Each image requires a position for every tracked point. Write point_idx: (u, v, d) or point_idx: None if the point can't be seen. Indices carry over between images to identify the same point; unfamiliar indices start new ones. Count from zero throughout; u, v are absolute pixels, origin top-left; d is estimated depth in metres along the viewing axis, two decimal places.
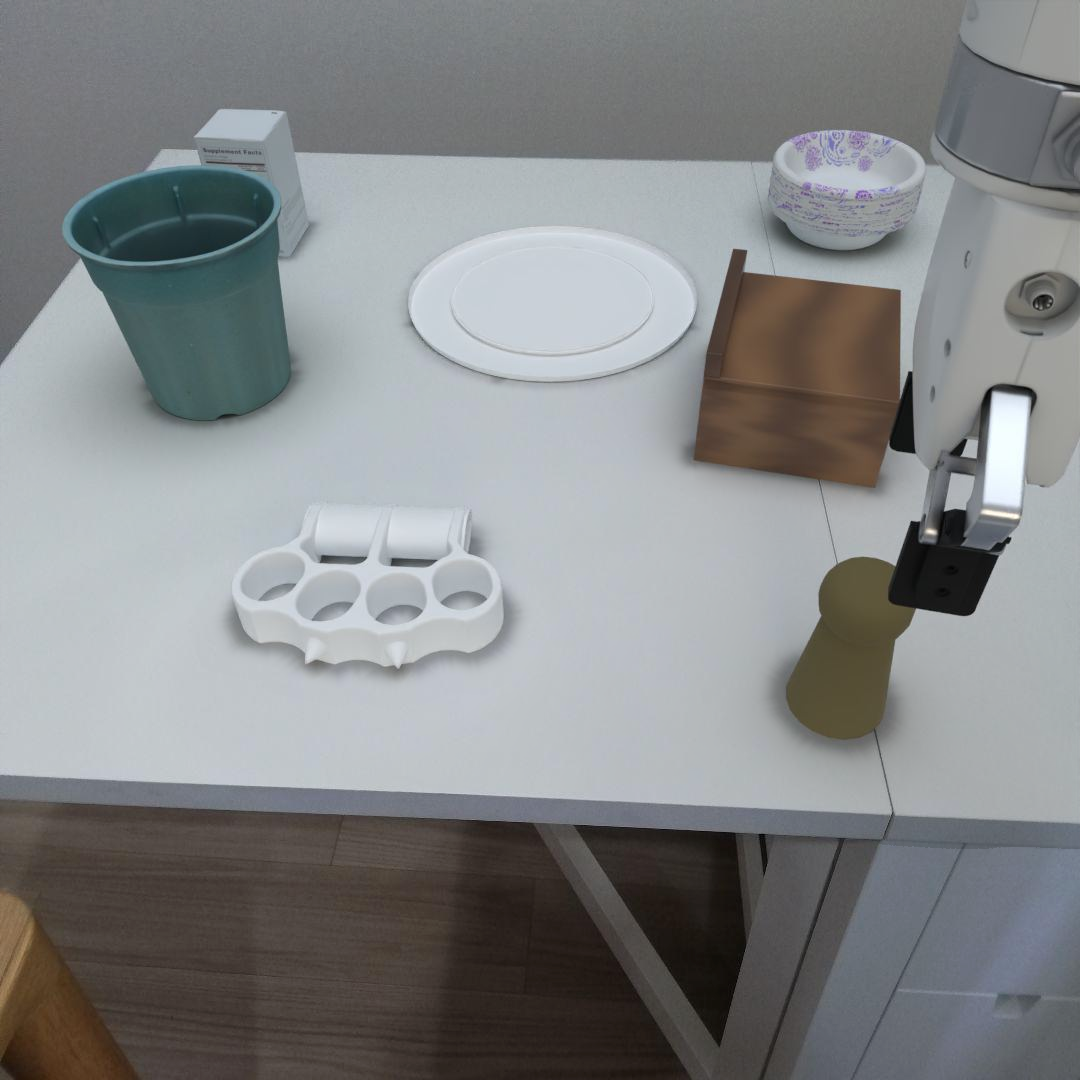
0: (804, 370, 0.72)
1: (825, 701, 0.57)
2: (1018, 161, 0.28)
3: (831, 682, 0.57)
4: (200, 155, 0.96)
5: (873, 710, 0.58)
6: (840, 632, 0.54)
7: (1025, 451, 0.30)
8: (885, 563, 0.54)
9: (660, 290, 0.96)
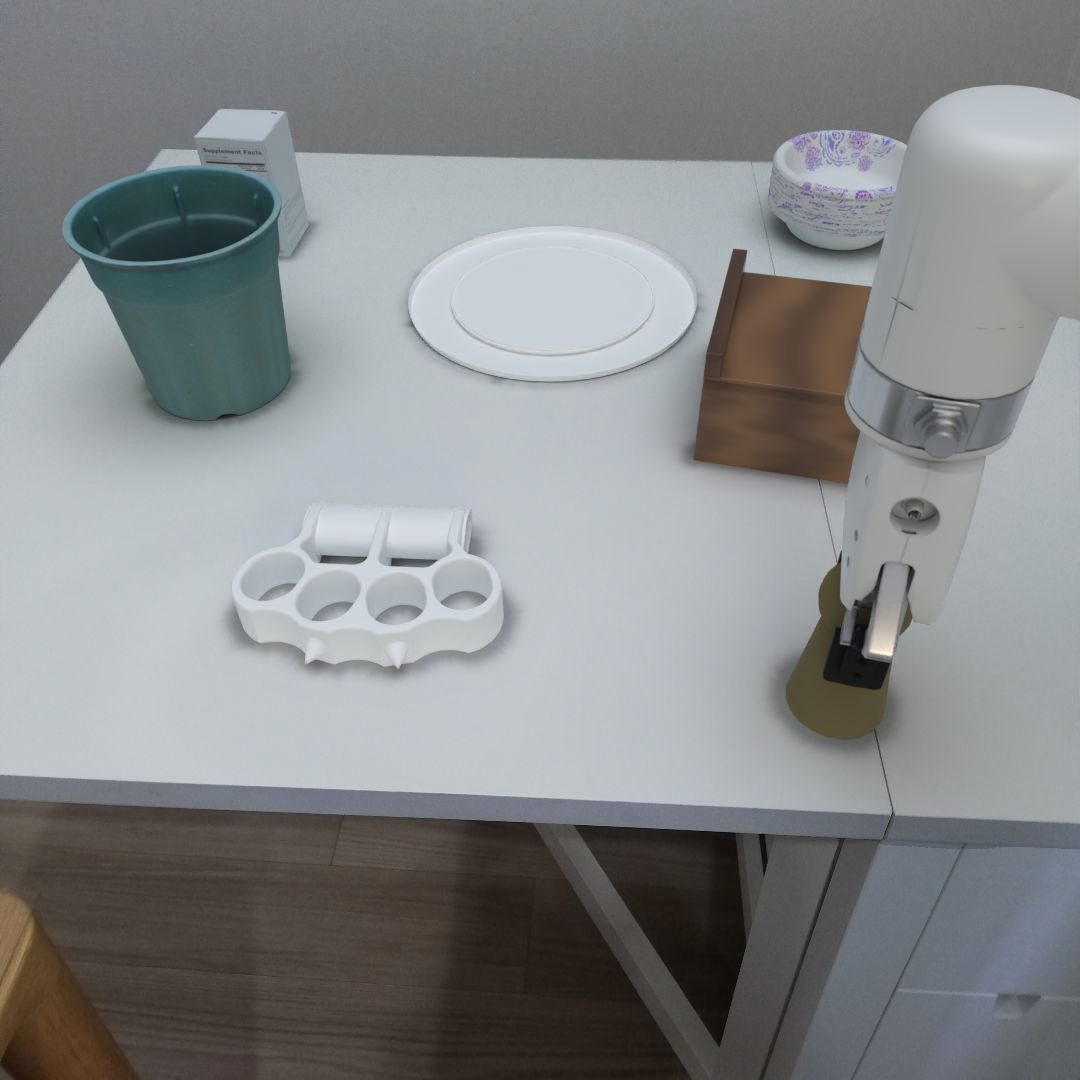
0: (804, 370, 0.72)
1: (825, 701, 0.57)
2: (895, 429, 0.43)
3: (831, 683, 0.57)
4: (200, 155, 0.96)
5: (873, 710, 0.58)
6: None
7: (899, 615, 0.46)
8: None
9: (660, 289, 0.96)
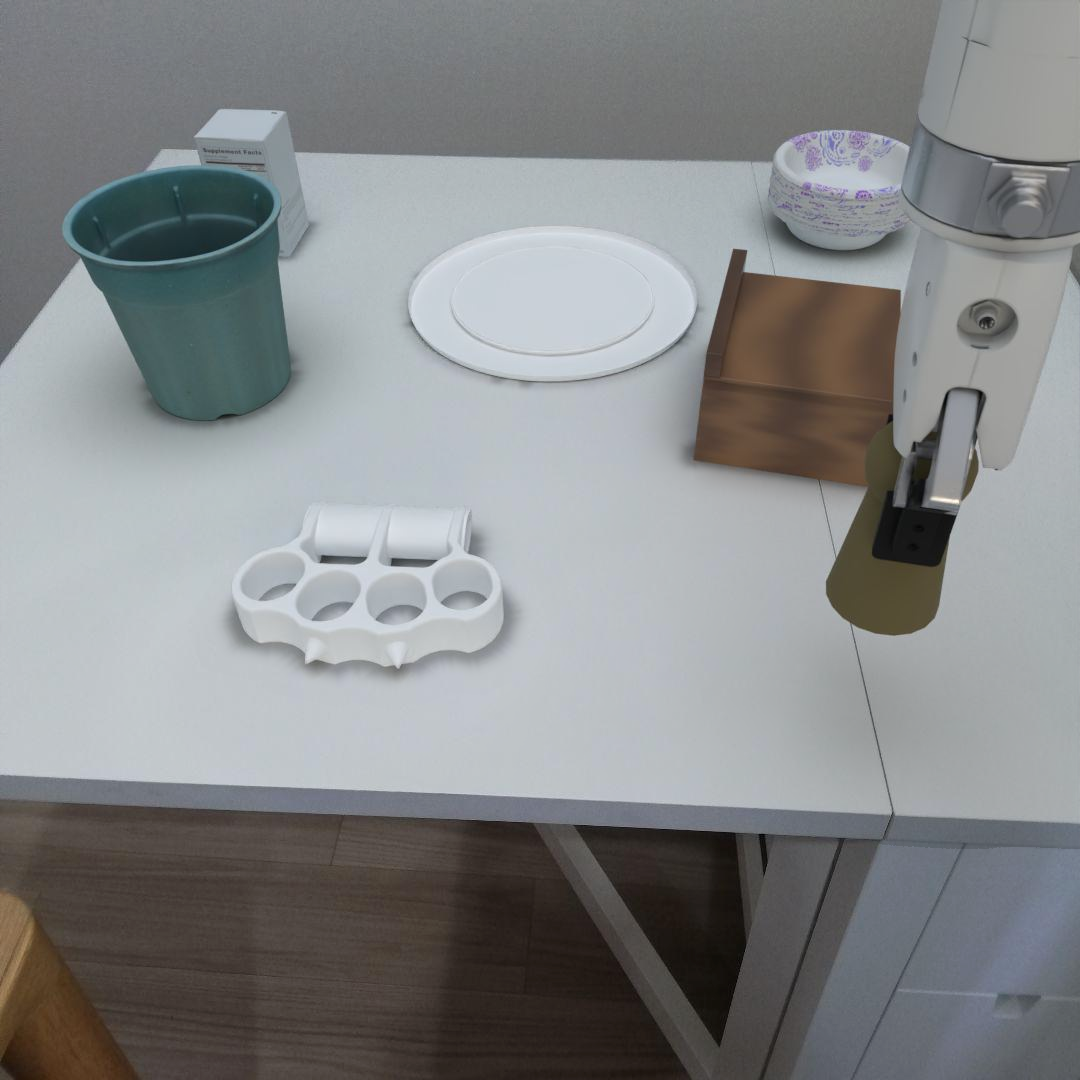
0: (804, 370, 0.72)
1: (873, 588, 0.50)
2: (963, 214, 0.36)
3: (880, 565, 0.50)
4: (200, 155, 0.96)
5: (928, 598, 0.51)
6: None
7: (968, 453, 0.39)
8: None
9: (660, 289, 0.96)
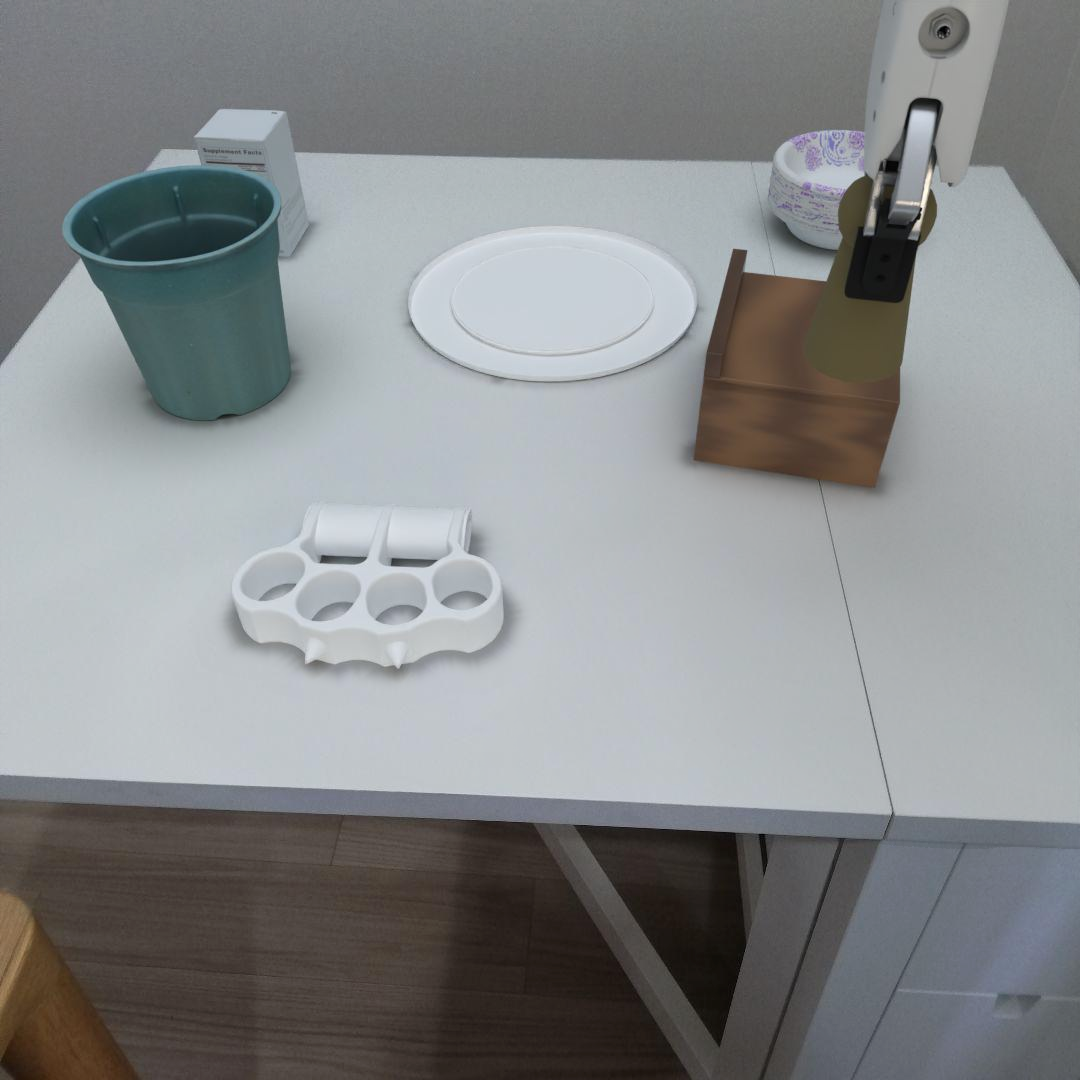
0: (804, 370, 0.72)
1: (845, 334, 0.57)
2: None
3: (851, 310, 0.56)
4: (200, 155, 0.96)
5: (892, 345, 0.57)
6: None
7: (927, 159, 0.46)
8: None
9: (660, 289, 0.96)
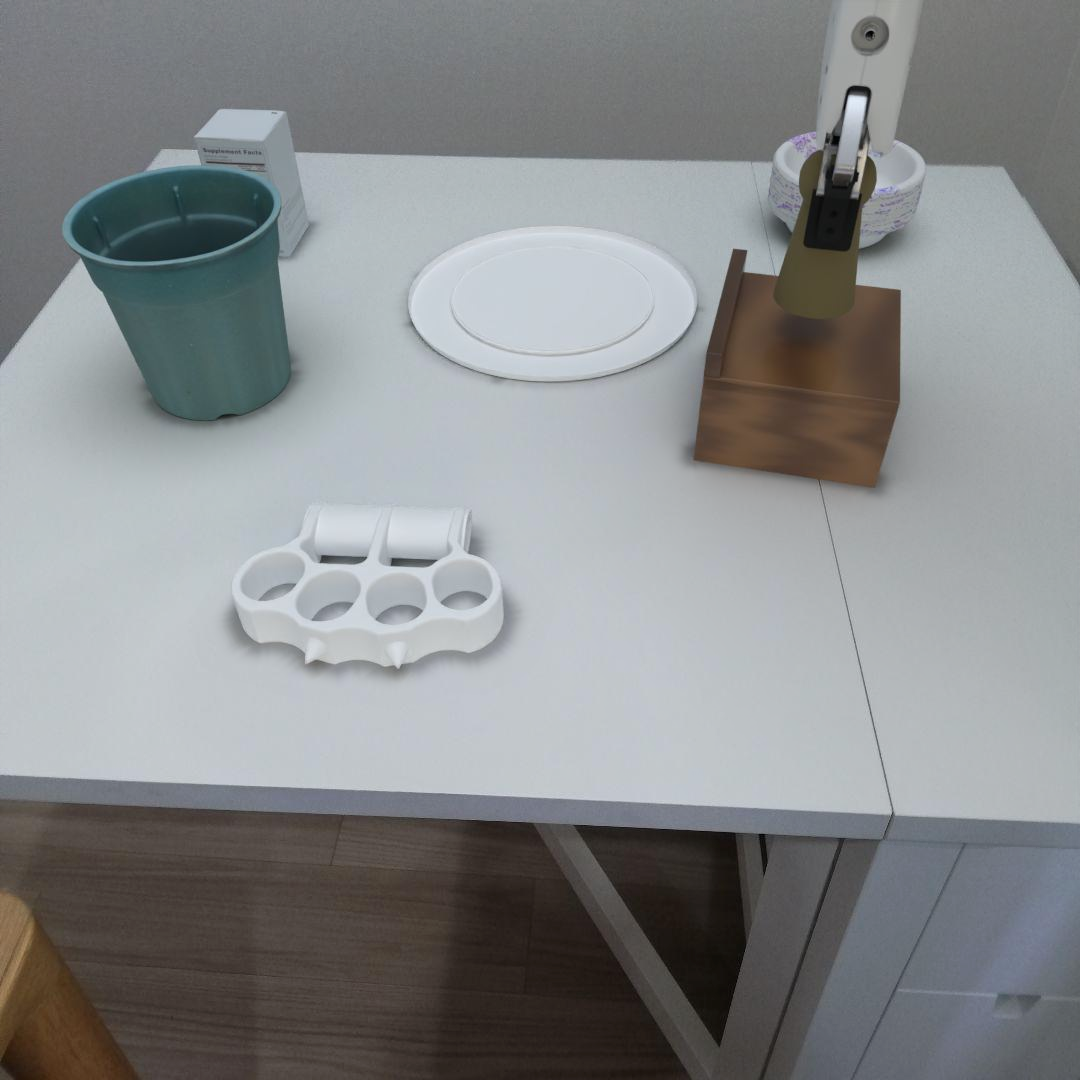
0: (804, 370, 0.72)
1: (805, 278, 0.71)
2: None
3: (810, 258, 0.70)
4: (200, 155, 0.96)
5: (844, 288, 0.71)
6: None
7: (860, 133, 0.60)
8: None
9: (660, 289, 0.96)
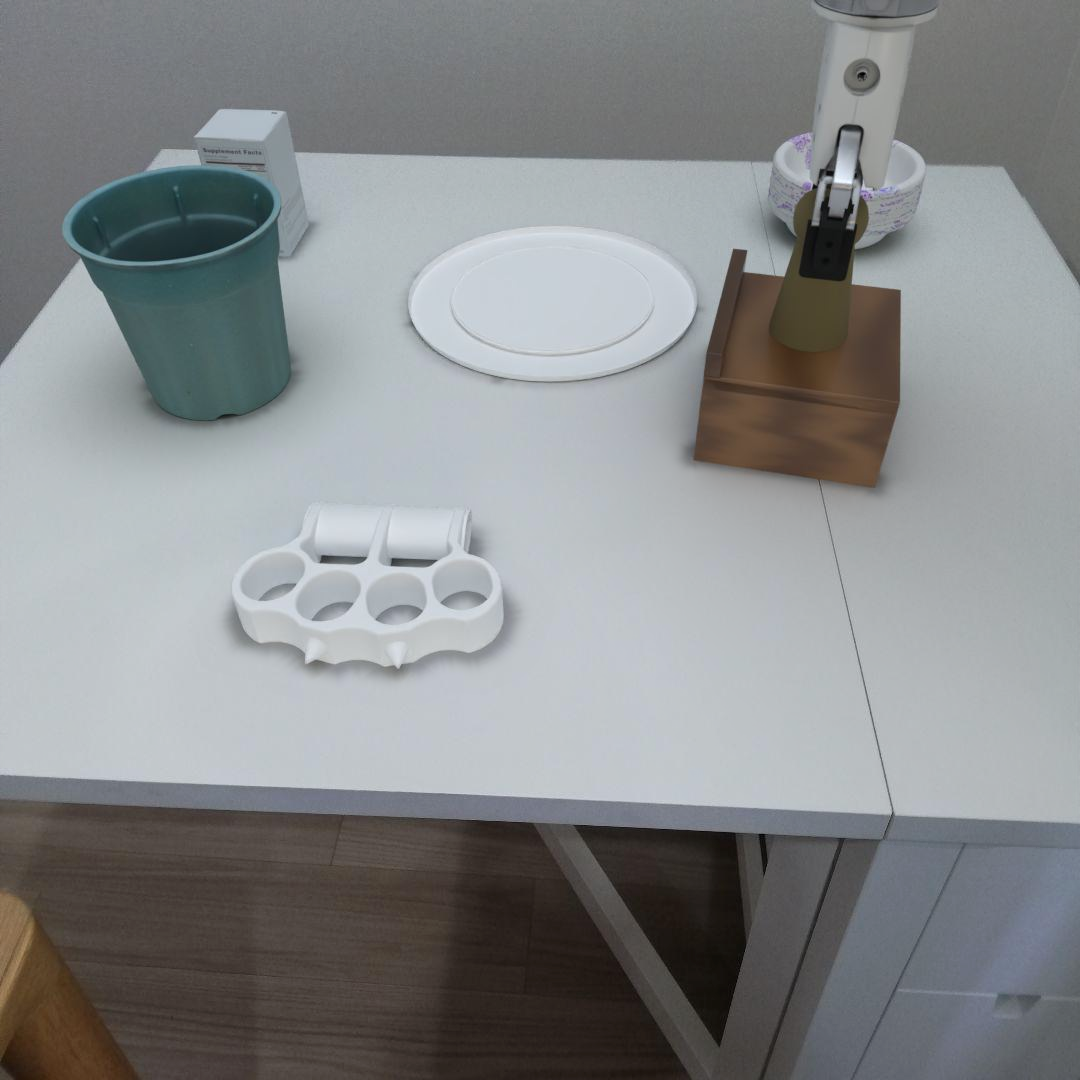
0: (804, 370, 0.72)
1: (799, 313, 0.73)
2: (846, 3, 0.57)
3: (804, 293, 0.72)
4: (200, 155, 0.96)
5: (837, 322, 0.73)
6: None
7: (856, 156, 0.60)
8: None
9: (660, 289, 0.96)
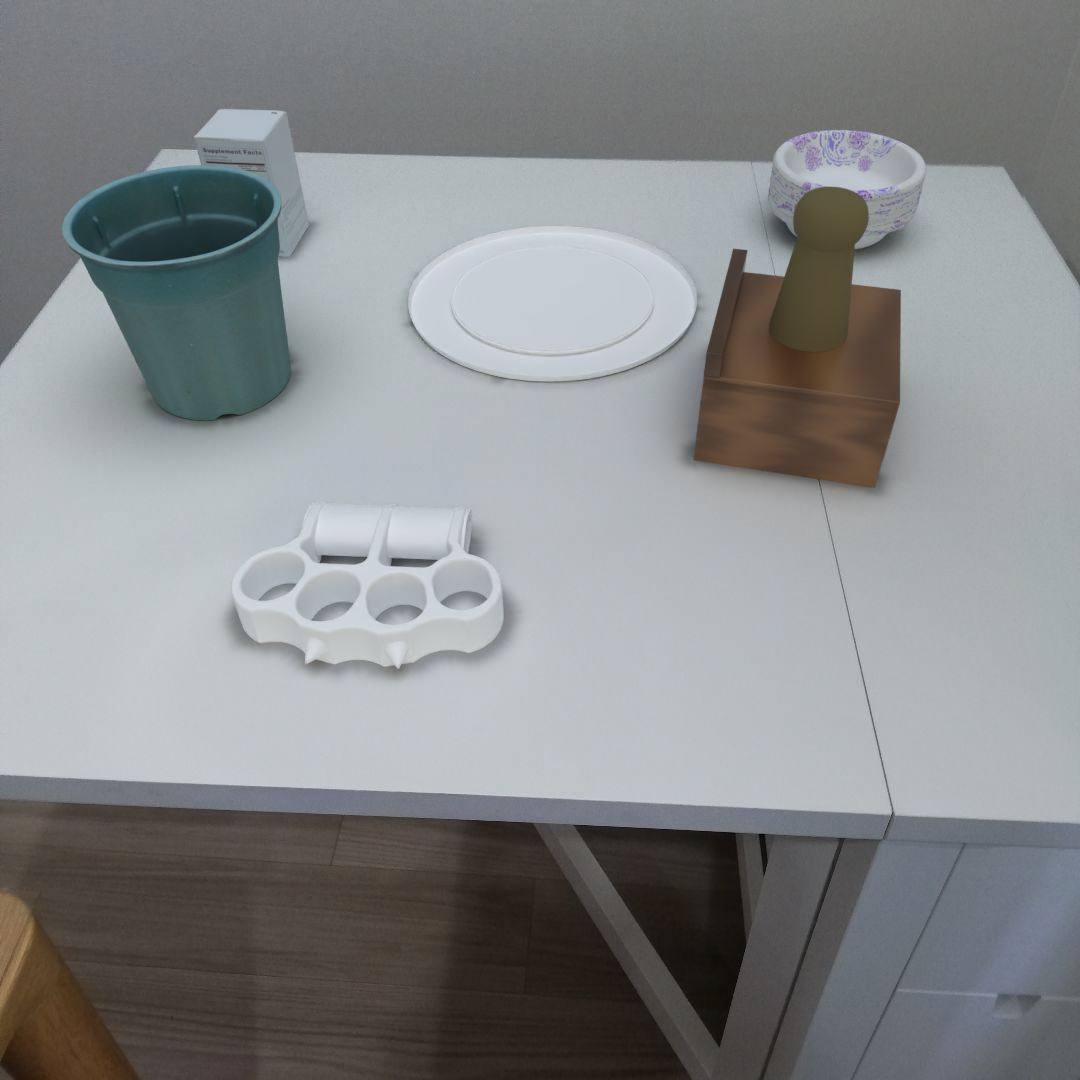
0: (804, 370, 0.72)
1: (799, 313, 0.73)
2: None
3: (804, 293, 0.72)
4: (200, 155, 0.96)
5: (837, 322, 0.73)
6: (809, 238, 0.69)
7: None
8: None
9: (660, 289, 0.96)
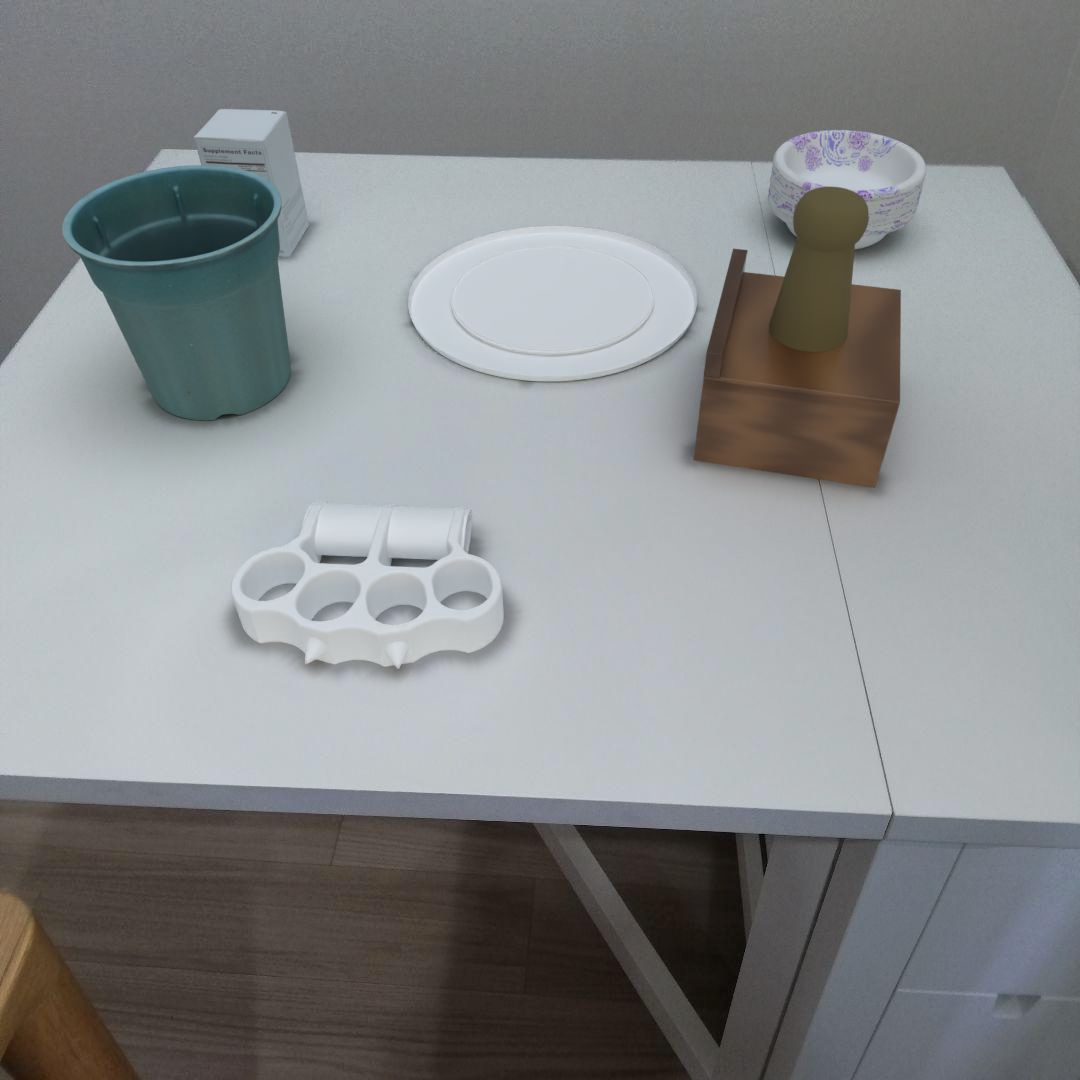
0: (804, 370, 0.72)
1: (799, 313, 0.73)
2: None
3: (804, 293, 0.72)
4: (200, 155, 0.96)
5: (837, 322, 0.73)
6: (809, 238, 0.69)
7: None
8: None
9: (660, 289, 0.96)
